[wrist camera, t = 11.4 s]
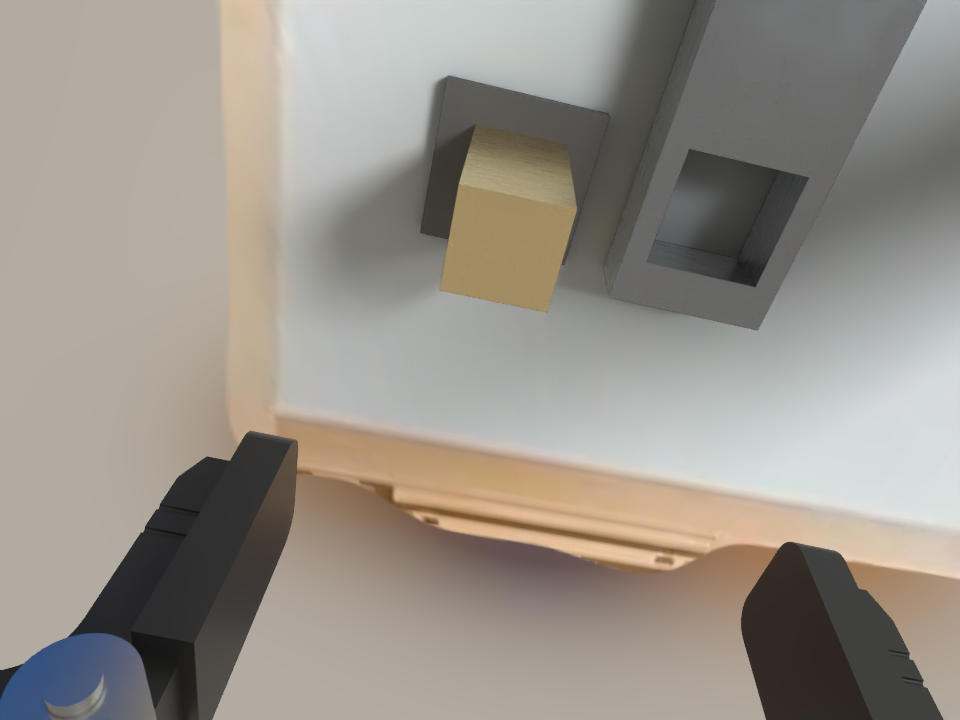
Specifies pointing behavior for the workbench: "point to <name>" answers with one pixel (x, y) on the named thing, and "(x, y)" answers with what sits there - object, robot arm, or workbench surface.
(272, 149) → the workbench surface
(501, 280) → the tan wooden beam
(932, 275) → the workbench surface
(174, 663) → the robot arm
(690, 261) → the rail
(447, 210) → the pad
